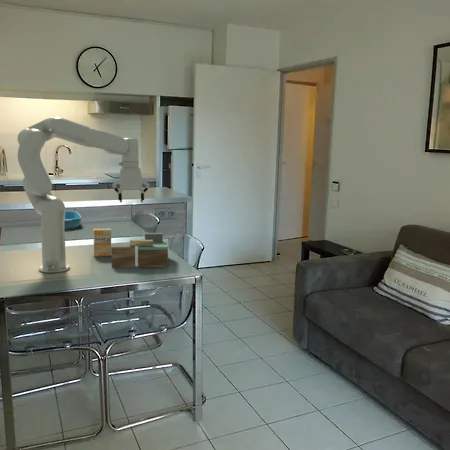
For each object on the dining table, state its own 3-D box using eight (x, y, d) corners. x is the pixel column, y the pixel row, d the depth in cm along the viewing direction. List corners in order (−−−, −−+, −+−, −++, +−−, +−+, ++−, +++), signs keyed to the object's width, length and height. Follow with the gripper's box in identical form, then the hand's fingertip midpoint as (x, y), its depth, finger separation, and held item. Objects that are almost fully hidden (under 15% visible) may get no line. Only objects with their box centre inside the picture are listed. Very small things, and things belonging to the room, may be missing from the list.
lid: (167, 249, 216) (167, 238, 215) (137, 249, 215) (137, 238, 214) (168, 241, 234) (168, 230, 233) (140, 241, 233) (140, 230, 232)
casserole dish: (84, 229, 302) (84, 218, 301) (46, 231, 293) (45, 220, 292) (76, 220, 335) (76, 209, 334) (42, 221, 326) (41, 211, 325)
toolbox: (167, 267, 218) (167, 247, 216) (111, 267, 215) (111, 247, 213) (167, 257, 235) (167, 238, 234) (116, 257, 233) (115, 238, 231)
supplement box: (94, 257, 233) (93, 230, 231) (93, 254, 238) (93, 228, 236) (111, 256, 236) (111, 229, 233) (111, 253, 240) (110, 227, 238)
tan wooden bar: (152, 246, 216) (152, 240, 216) (129, 246, 215) (129, 240, 215) (152, 244, 218) (152, 239, 218) (130, 245, 217) (130, 239, 217)
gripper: (110, 165, 220) (111, 203, 223) (149, 165, 222) (150, 202, 225) (111, 164, 227) (113, 201, 230) (149, 164, 230) (150, 200, 233)
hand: (131, 201), depth 228 cm, fingers open, 9 cm apart
